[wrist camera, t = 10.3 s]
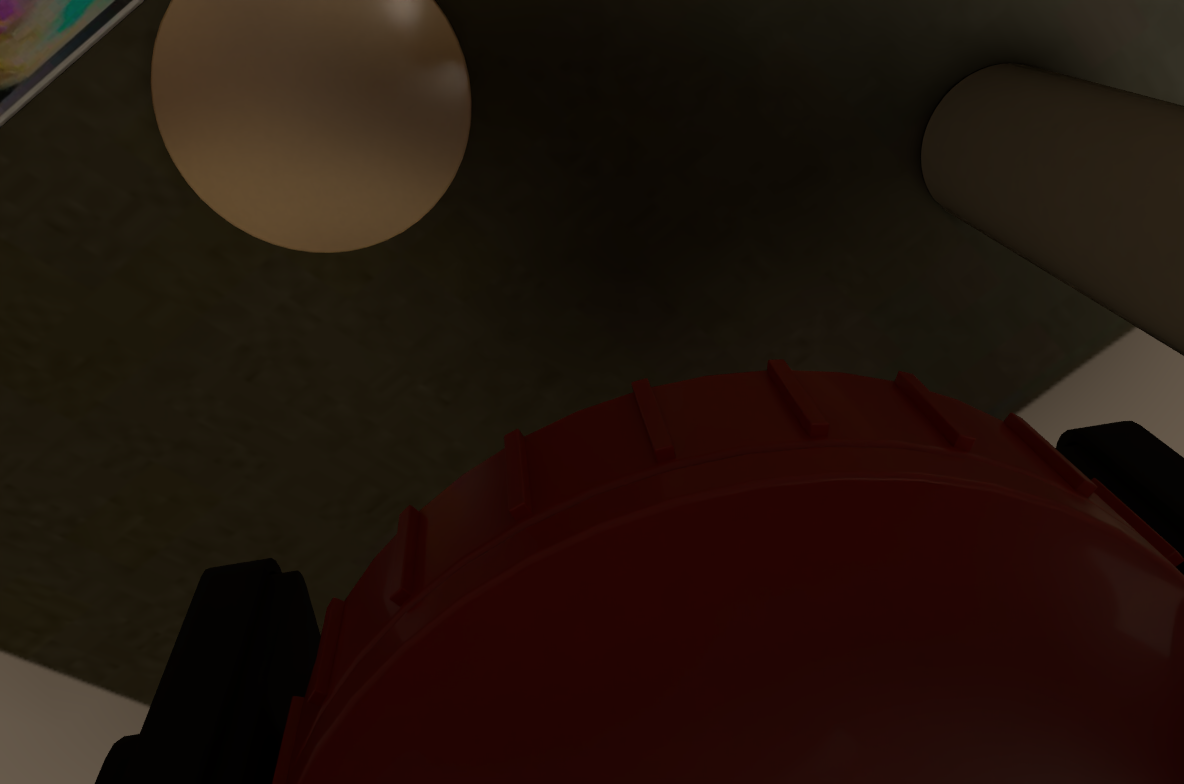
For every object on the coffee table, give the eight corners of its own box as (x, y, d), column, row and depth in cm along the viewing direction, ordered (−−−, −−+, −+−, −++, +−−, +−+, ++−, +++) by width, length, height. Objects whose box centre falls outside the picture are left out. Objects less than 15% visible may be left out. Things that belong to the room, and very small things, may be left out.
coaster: (495, 223, 36) (495, 228, 36) (206, 269, 36) (202, 275, 35) (440, -91, 32) (439, -91, 32) (112, -44, 32) (105, -44, 31)
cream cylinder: (1067, 209, 38) (1478, 407, 23) (919, 232, 38) (1233, 449, 23) (1078, 51, 36) (1544, 153, 20) (920, 75, 36) (1271, 197, 20)
